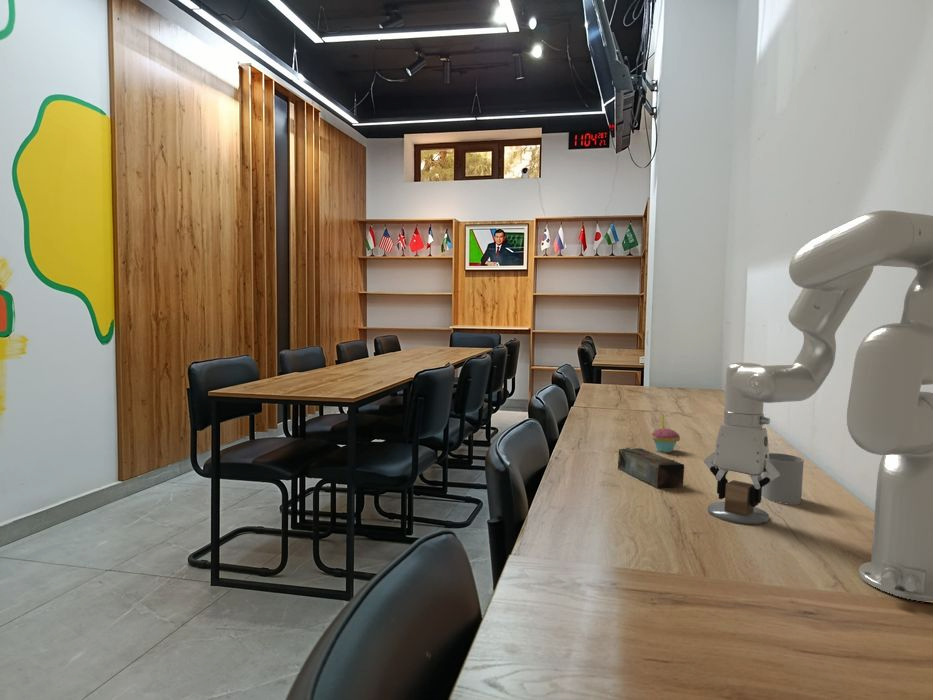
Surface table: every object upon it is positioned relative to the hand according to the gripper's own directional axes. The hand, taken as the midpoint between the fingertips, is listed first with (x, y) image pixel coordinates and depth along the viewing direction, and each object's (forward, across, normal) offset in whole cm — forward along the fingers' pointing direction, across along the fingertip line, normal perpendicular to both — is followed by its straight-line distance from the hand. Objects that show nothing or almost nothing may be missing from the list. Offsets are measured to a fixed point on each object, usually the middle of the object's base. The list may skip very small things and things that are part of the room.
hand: (738, 500), depth 123 cm
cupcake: (+3, +38, -45) cm, 59 cm away
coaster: (+3, 0, 0) cm, 3 cm away
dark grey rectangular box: (+4, +27, -12) cm, 30 cm away
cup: (+3, -3, -20) cm, 20 cm away
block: (+2, 0, 0) cm, 2 cm away
